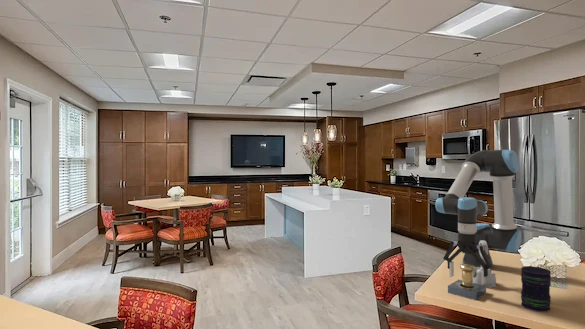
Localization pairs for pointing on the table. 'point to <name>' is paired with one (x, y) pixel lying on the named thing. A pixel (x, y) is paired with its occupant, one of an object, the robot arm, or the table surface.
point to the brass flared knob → (467, 275)
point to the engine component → (477, 272)
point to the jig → (467, 290)
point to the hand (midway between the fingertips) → (467, 279)
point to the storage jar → (535, 288)
